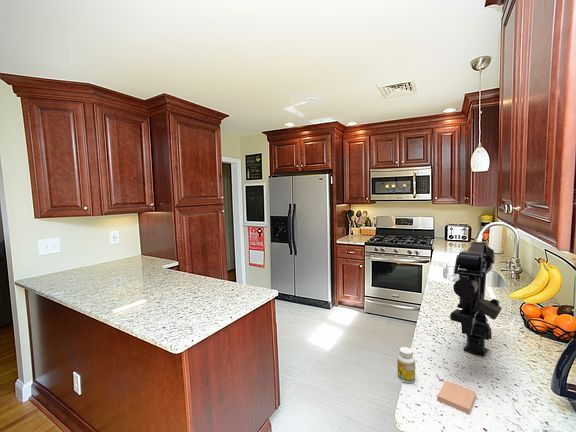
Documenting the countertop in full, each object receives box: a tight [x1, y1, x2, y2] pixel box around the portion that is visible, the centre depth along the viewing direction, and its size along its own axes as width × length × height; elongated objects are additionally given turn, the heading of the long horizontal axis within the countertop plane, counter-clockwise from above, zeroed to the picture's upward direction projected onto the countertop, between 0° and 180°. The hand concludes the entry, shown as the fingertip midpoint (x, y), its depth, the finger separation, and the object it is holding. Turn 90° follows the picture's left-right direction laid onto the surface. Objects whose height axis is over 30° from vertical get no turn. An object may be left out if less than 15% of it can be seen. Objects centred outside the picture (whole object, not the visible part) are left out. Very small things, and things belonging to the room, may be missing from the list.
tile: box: [436, 380, 477, 415], centre depth 82 cm, size 2×8×9 cm
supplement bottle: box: [396, 346, 416, 384], centre depth 92 cm, size 5×5×10 cm
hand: (468, 335), depth 95 cm, fingers closed
